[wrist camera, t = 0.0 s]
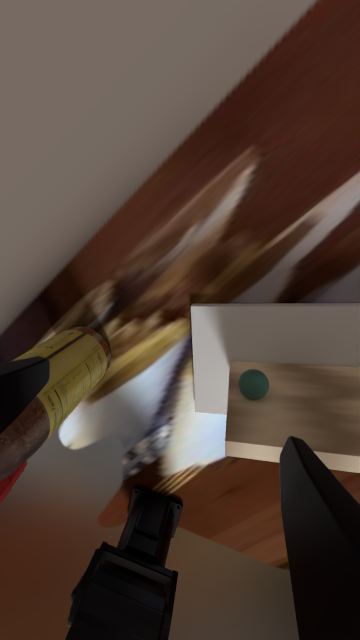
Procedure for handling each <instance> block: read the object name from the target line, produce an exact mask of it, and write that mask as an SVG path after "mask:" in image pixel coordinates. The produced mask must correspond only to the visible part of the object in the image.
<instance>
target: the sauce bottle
mask: <svg viewBox="0 0 360 640" xmlns="http://www.w3.org/2000/svg"><path fill="white" fill-rule="evenodd" d="M36 356H41V357H44V358H47V359H49V361H50V378H49V381H48V383H47V384H46V385H45V387H44V388H43V389H42V390H41V391H40V392H39V394H38V395H37V396H36V397H35V398H34V399H33V401H32V402H31V403H30V404H29V405H28V407H27V408H26V409H25V410H24V411H23V412H22V413H21V415H20V416H19V417H18V418H17V419H16V420H15V421H14V422H13V423H12V424H11V425H10V426H9V427H8V428H7V429H6V430H5V431H4V432H3V433H2V434H1V435H0V481H1V480H3V479H5V478H7V477H8V476H9V475H11V474H12V473H13V472H14V471H15V470H16V469H17V468H19V467H20V466H21V465H22V464H23V463H24V462H25V461H26V460H27V459H29V457H31V456H32V455H33V454H34V453H35V452H36V451H37V450H38V449H39V448H40V447H41V446H42V445H43V444H44V442H45V441H46V440H47V439H48V438H49V437H50V436H51V434H52V433H53V432H54V431H55V430H56V429H57V428H58V426H59V425H60V424H61V423H62V422H63V421H64V420H65V419H66V418H67V416H68V415H69V414H70V413H71V412H72V411H73V410H74V409H75V408H76V407H77V405H78V404H79V403H80V402H81V401H82V400H83V399H84V397H85V396H86V395H87V394H88V393H89V392H90V390H91V389H92V388H93V387H94V386H95V385H96V384H97V383H98V382H99V380H100V379H101V378H102V377H103V375H104V374H105V371H106V370H107V369H108V367H109V365H110V357H111V355H110V349H109V345H108V342H106V340H105V339H104V338H103V337H102V336H101V335H100V334H98V333H97V332H96V331H94V330H93V329H91V328H88V327H81V326H80V327H74V328H70V329H68V330H66V331H63V332H61V333H59V334H57V335H55V336H54V337H52V338H50V339H49V340H47V341H45V342H43V343H42V344H40V345H38V346H37V347H35V348H33V349H31V350H30V351H28V352H26V353H25V354H23V355H21V356H20V357H18V358H16V359H14V360H13V361H15V360H20V359H26V358H31V357H36Z"/></svg>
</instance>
